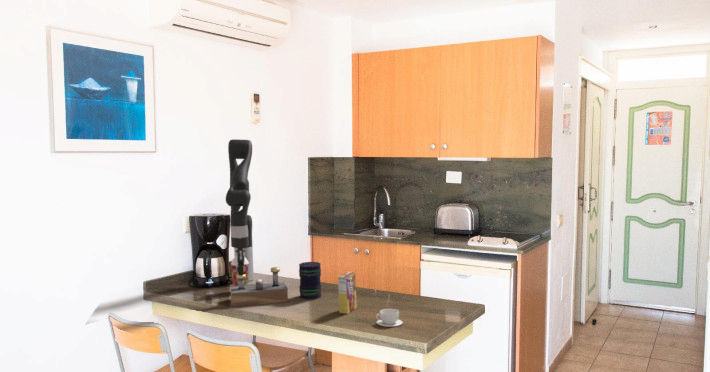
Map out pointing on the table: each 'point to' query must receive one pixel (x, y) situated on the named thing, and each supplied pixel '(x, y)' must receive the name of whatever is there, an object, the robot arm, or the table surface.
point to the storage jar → (310, 280)
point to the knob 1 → (241, 280)
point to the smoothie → (235, 271)
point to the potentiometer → (259, 285)
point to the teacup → (389, 318)
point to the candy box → (347, 292)
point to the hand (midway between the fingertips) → (241, 274)
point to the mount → (259, 294)
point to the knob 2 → (275, 275)
